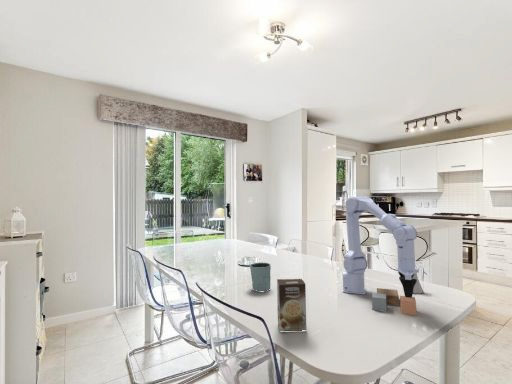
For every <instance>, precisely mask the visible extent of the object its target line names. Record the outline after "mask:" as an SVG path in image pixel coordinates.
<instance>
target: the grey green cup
mask: <svg viewBox="0 0 512 384" xmlns="http://www.w3.org/2000/svg"><path fill="white" fill-rule="evenodd" d="M271 267H272V266H271V263H269V262H255V263H251V264H250V265H249V270H250V276H251V281H252V283H251V286H252V290H253V289H254V290H257V291H267V290H269V289H270V290H271ZM270 290H269V291H270ZM267 292H268V291H267Z"/></svg>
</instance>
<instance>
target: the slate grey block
mask: <svg viewBox="0 0 512 384" xmlns="http://www.w3.org/2000/svg"><path fill="white" fill-rule="evenodd" d="M371 303H372V304H371V307H372V309H371V310H372V311H380V312H387V304H386V294H379V293H377V292H372V294H371Z"/></svg>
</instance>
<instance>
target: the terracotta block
mask: <svg viewBox="0 0 512 384" xmlns="http://www.w3.org/2000/svg"><path fill="white" fill-rule="evenodd" d="M399 307H400V314H402V315H409V316H417V301H416V298H415V296H412V298H409V297H405V295H399Z"/></svg>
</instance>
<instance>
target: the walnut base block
mask: <svg viewBox="0 0 512 384" xmlns="http://www.w3.org/2000/svg"><path fill="white" fill-rule="evenodd" d="M376 293H379V294H386V305H389V306H398V307H400V295H399V292H398V289H392V288H390V289H389V288H379V287H376Z"/></svg>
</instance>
